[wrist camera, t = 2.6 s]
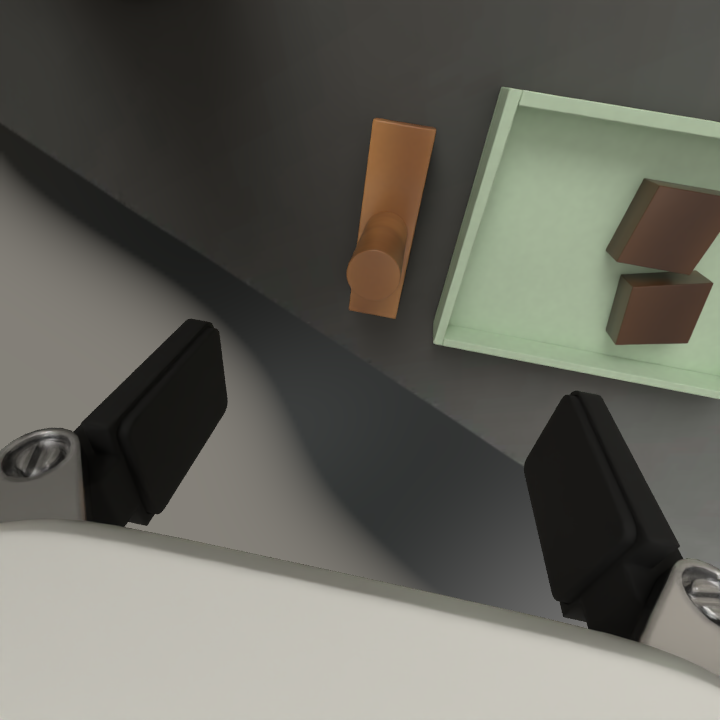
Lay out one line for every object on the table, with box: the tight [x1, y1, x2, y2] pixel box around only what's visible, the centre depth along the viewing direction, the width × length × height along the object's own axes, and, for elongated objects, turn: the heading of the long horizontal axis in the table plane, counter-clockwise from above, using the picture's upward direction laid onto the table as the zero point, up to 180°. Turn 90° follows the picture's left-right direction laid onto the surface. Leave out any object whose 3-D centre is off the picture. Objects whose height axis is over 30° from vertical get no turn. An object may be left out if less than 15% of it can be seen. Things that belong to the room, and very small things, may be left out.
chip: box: [606, 270, 713, 345], centre depth 23 cm, size 4×4×2 cm
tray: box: [433, 87, 720, 399], centre depth 22 cm, size 20×14×3 cm
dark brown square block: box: [606, 178, 720, 275], centre depth 21 cm, size 4×4×2 cm
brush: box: [347, 118, 436, 319], centre depth 21 cm, size 3×11×8 cm, turn 172°
